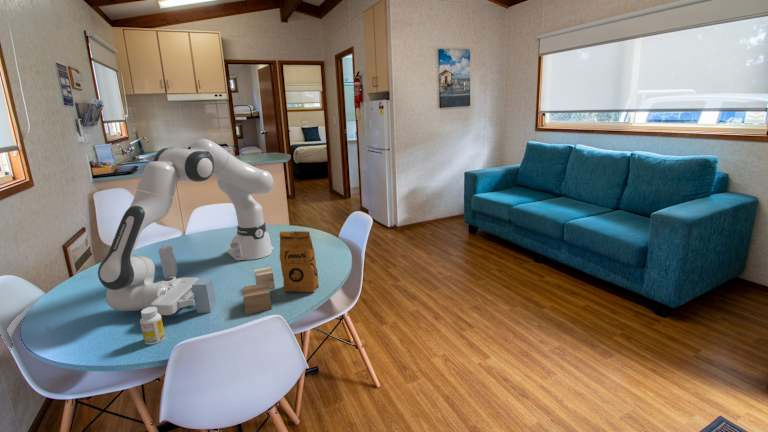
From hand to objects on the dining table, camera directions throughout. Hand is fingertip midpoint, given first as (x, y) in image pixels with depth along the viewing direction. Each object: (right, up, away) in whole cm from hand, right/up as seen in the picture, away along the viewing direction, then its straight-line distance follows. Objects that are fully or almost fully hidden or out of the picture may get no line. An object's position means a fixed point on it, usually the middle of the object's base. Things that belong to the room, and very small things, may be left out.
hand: (201, 294), depth 131 cm
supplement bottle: (-6, -10, -15) cm, 20 cm away
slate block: (+1, -5, +1) cm, 5 cm away
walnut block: (+18, -4, +2) cm, 19 cm away
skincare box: (-27, +1, +31) cm, 41 cm away
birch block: (+16, 0, +17) cm, 23 cm away
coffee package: (+30, -1, +13) cm, 33 cm away
